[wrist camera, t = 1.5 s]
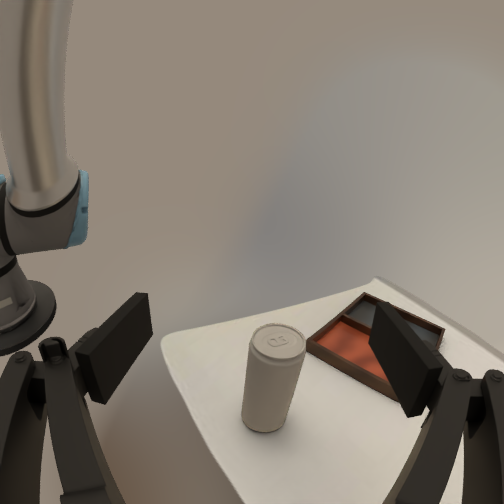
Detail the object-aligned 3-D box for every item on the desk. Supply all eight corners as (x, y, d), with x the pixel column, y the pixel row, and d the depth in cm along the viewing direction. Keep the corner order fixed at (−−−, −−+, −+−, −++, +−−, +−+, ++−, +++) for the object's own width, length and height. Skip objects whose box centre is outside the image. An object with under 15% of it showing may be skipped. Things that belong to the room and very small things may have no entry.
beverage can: (292, 426, 27) (319, 349, 22) (252, 440, 25) (266, 366, 20) (272, 396, 31) (289, 317, 26) (234, 408, 29) (240, 328, 24)
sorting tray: (303, 349, 39) (306, 339, 38) (361, 300, 53) (364, 291, 52) (411, 408, 28) (417, 399, 27) (441, 337, 41) (445, 328, 41)
